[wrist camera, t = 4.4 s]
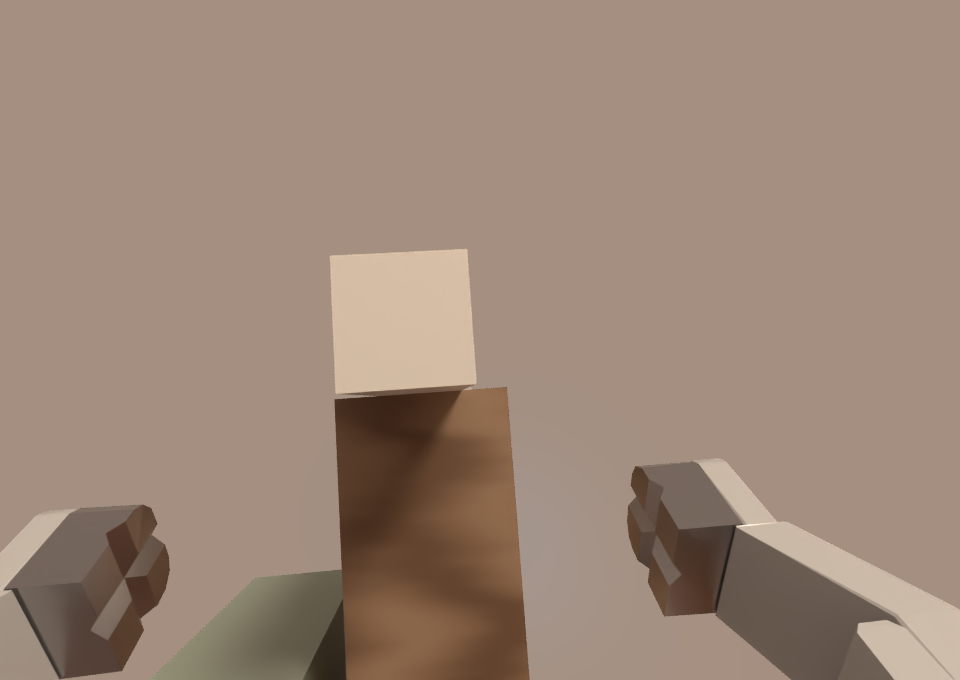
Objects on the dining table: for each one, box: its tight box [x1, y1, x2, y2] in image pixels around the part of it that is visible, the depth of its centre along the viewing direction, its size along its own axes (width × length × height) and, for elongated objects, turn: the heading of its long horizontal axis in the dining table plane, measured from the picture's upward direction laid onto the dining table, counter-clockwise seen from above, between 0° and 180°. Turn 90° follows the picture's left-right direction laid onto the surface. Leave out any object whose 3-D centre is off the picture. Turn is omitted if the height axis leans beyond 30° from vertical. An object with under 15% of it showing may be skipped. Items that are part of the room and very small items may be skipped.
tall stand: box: [335, 387, 529, 680], centre depth 25 cm, size 6×15×26 cm, turn 4°
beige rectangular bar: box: [330, 249, 477, 396], centre depth 21 cm, size 5×20×3 cm, turn 4°
